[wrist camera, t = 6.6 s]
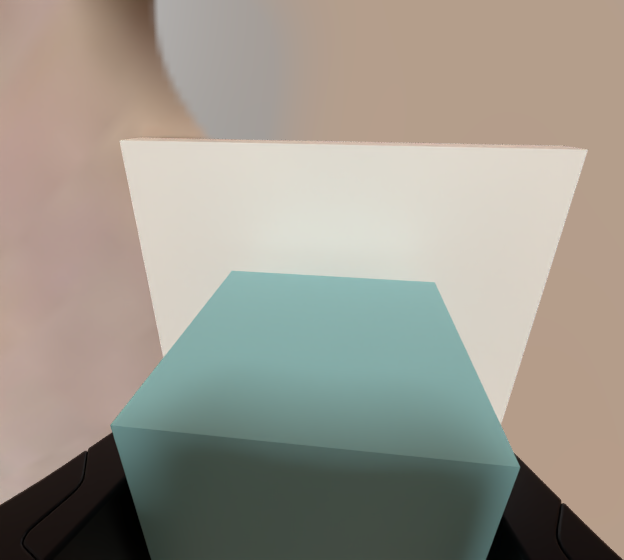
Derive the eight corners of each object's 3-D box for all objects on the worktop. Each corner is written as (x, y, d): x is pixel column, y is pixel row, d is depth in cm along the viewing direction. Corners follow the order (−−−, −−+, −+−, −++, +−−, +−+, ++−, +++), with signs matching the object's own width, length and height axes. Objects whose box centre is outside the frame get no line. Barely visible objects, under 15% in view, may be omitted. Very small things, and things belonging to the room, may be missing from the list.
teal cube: (408, 433, 11) (445, 664, 6) (244, 418, 11) (170, 622, 7) (434, 282, 9) (520, 467, 4) (231, 270, 9) (110, 425, 5)
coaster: (474, 457, 14) (482, 481, 13) (192, 429, 15) (181, 450, 14) (564, 145, 9) (588, 149, 8) (141, 137, 10) (119, 140, 9)
